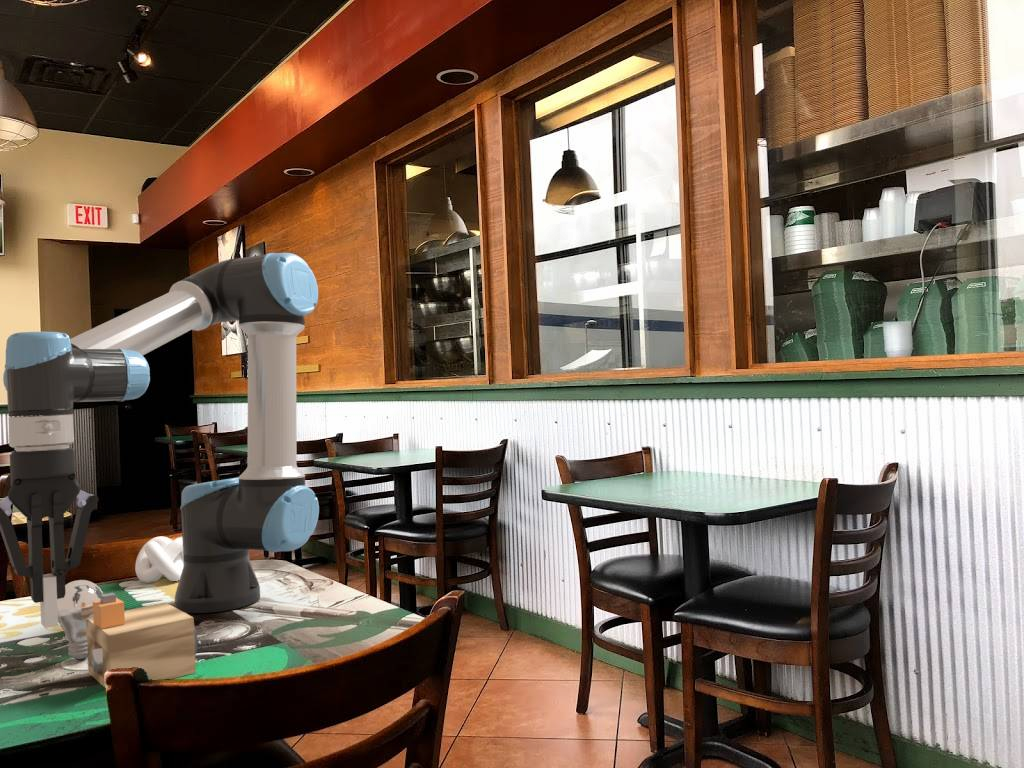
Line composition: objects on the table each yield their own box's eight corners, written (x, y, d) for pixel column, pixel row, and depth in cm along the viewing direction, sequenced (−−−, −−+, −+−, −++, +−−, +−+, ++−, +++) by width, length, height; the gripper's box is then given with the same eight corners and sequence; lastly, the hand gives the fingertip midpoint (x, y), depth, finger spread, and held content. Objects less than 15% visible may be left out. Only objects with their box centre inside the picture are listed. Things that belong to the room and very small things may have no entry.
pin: (89, 675, 113) (88, 638, 113) (185, 652, 122) (184, 617, 122) (99, 684, 109) (98, 646, 109) (198, 660, 118) (196, 624, 118)
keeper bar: (93, 623, 113) (92, 594, 113) (116, 618, 115) (115, 590, 115) (101, 628, 110) (100, 599, 110) (124, 623, 112) (123, 595, 112)
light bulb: (67, 653, 125) (64, 576, 125) (114, 650, 126) (111, 573, 126) (45, 669, 118) (42, 587, 118) (95, 666, 119) (92, 584, 119)
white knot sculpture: (120, 587, 169) (119, 544, 169) (155, 573, 181) (153, 533, 181) (170, 587, 167) (168, 543, 167) (202, 573, 179) (200, 533, 179)
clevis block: (88, 672, 116) (86, 618, 116) (167, 653, 124) (165, 602, 124) (111, 694, 107) (109, 635, 107) (195, 672, 114) (193, 617, 114)
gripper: (-11, 453, 101) (-3, 642, 101) (103, 444, 109) (110, 619, 109) (-20, 451, 107) (-13, 630, 107) (88, 443, 115) (95, 609, 115)
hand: (49, 624), depth 108 cm, fingers closed
